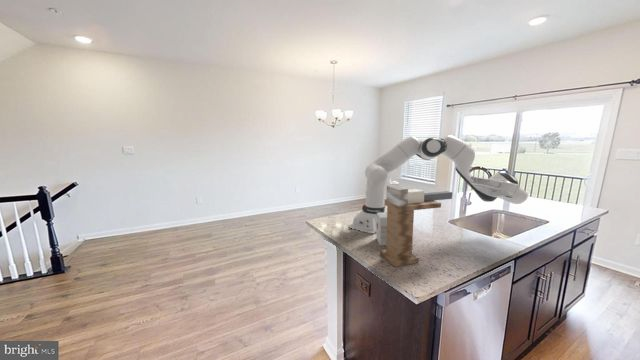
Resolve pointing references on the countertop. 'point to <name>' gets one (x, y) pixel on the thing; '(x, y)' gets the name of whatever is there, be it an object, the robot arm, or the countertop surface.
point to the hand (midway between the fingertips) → (480, 179)
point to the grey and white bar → (426, 196)
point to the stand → (401, 225)
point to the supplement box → (381, 228)
